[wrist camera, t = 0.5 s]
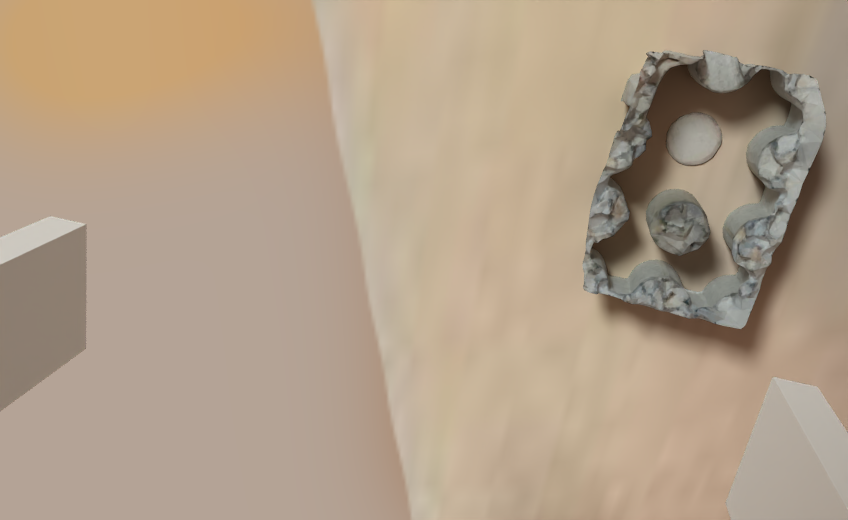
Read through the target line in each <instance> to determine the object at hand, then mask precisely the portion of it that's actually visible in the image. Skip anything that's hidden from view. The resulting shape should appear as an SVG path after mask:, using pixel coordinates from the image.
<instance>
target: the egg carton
mask: <svg viewBox="0 0 848 520" xmlns="http://www.w3.org/2000/svg"><path fill="white" fill-rule="evenodd" d="M646 54H647V56H648V58H647V59H646V61H645V64H644V66H643V68H642V69H641V72H640V73H639V74H633V75H631V77H630V78H629V79H628V81H627V83H626V87H625V90H624V92H623V95H622V99H621V101H624V102H625V104H626V105H628V106H630V108H629V110H628V112H627V115H626V117H625V120H624V122H623V125H622V128H621V130H620V131H617V133H616V135H615V137H614V141H613V145H612V148H611V150H610V153H609V158H608V161H607V164H606V167H605V168H604V170H603V173H602V175H601V178H600V180H599V183H598V185H597V188H596V190H595V193H594V197H593V201H592V205H591V209H590V217H589V224H588V231H587V239H586V252H585V257H584V261H583V270H584V286H583V288H584V290H585V291H587V292H589V293H594V294H598V293H602V294H606V295H610V296H614V297H616V298H619V299H621V300H623V301H625V302H627V303H630V304H640V305H644V306H648V307H651V308H654V309H657V310H659V311H664V312H670V313H673V314H676V315H679V316H683V317H686V318H688V319H690V318H699V319H703V320H706V321H709V322H712V323H715V324H718V325H722V326H727V327H732V328H738V329H742V328H743V327H744V326H745V325H746V323H747V320H748V318H749V315H750V313H751V310H752V308H753V305H754V303H755V300H756V298H757V295H758V293H759V290H760V286H761V281H762V278H763V276H764V273H765V271H766V269H767V267H768V266H769V265H770V264H771V259H772V254H773V252H774V251H775V249H776V248H777V247H778V246H779V245H780V243H781V242H782V239H783V236H784V234H785V230H786V227H787V224H788V221H789V218H790V215H791V213H792V211H793V208H794V206H795V204H796V202H797V200H798V197H799V194H800V191H801V187H802V184H803V182H804V180H805V178H806V176H807V174H808V172H809V170H810V167H811V165H812V163H813V161H814V158H815V156H816V154H817V152H818V150H819V147H820V145H821V143H822V140H823V136H824V132H825V128H826V115H825V109H824V106H823V102H822V98H821V94H820V90H819V86H818V81H817V79H815V78H813V77H811V76H809V75H804V74H787V73H785V72H784V71H782V70H779V69H775V68H771V67H766V66H758V65H753V64H747V65H744V64H742V63H740V62H739V61H738V59H737V57H732V56H729V55H724V54H720V53H716V52H712V51H707V50H703V54H704V55H703V56H701V57H697V56H689V55H685V54H682V53H677V52H672V51H663V52H662V53H658V52H648V53H646ZM678 65H688V70H689V73H690V75H691V76H692V77H693V79H694V80H695V81H696V82H697V83H699V84H700V85H701V86H703V87H705V88H706V89H708V90H710V91H712V92H716V93H728V92H732V91H736V90H738V89H740V88H741V87H743V86H744V85H745V84H747V83H748V82H749V81H750V80H751V78H752V77H753V75H755V74H756V73H757V72H758V71H760V70H761V69H767V70H769V71H770V80H771V84H772V87H773V89H774V91H775V92H776V93H777V94H778V95H779V96H781V97H782V98H784V99H786V100H787V101H789V102H791V108H790V112H789V115H788V118H787V120H786V122H785V124H784V126H771V127H768V128H766V129H764V130H762V131H760V132H759V133H758V134H756V135H755V137H754V138H753V139H752V140H751V142H750V143H749V145H748V147H747V152H746V158H747V164H748V166H749V168H750V170H751V171H752V172H753V173H754V174H755V175H756V176H757V177H758V178H759V179H760V180H761V181H762V182H763V184H764V185H765V189H764V192H763V195H762V198H761V200H760V202H759V203H757V204H747V205H743V206H741V207H738V208H737V209H735V210H734V211H732V212H731V213H730V214H729V215H728V217H727V219H726V221H725V223H724V226H723V238H724V240H725V242H726V244H727V245H728V247H729V248H730V250H731V251H732V255H733V258H734V261H735V262H736V263H737V264H738V265H740V266H739V269H738V272H737V274H736V275H724V276H720V277H717V278H715V279H714V280H712V281H711V282H710V283H708V285H707V286H706V287H705V288H704V289H703V291H702V292H695V291H691V290H687V289H684V288H683V285H682V282H681V280H680V278H679V276H678V274H677V272H676V271H675V270H674V268H673V267H672V266H671V265H670V264H668V263H666V262H664V261H661V260H648V261H645V262H643V263H640V264H639V265H638V266H636V267H635V268H634V269H633V270H632V272H631V274H630V275H629V277H628V278H620V277H614V276H610V275H607V269H606V264H605V261H604V259H603V257H602V255H601V254H600V253H599V252H598V251H597V250H595V249H593V248H592V245H593V243H594V242H596V243H598V242H599V241H600V240H601V239H605V238H608V237H611V236H613V235H614V234H615V233H616V232H617V231H618V230H619V229H620V228H621V227H622V226H623V225H624V223H625V222H626V221H628V220H629V213H630V211H629V210H628V207H627V203H626V200H625V197H624V194H623V192H622V189H621V187H620V186H619V185H618V184H617V183H616V182H615V181H614V180H613V179H611V178H610V176H611V175H613V174H616V173H619V172H621V171H624V170H626V169H628V168H629V167H631V166H632V162H633V160H634V159H635V158H637V157H639V156H640V155H641V154H642V153H643V152H644V151H645V150H646V140H648V139H649V138H651V137H652V131H651V127H650V123H649V121H648V119H647V118H646V115H647V113H648V110H649V108H650V105H651V103H652V100H653V98H654V95H655V93H656V90H657V87H658V85H659V83H660V81H661V80H662V78H663V76H664V75H665V74H666V73H667V71H668V70H669V69H670V68H672V67H675V66H678ZM721 141H722V134H721V129H720V127H719V126H718V124H717V123H716V121H715V120H714V119H713V118H712V117H711V116H709V115H707V114H704V113H690V114H687V115H684V116H681V117H679V118H678V119H677V120H676V121H675V122H674V123H672V125H671V127H670V129H669V131H668V132H667V140H666V142H667V144H666V147H667V149H668V152H669V153H670V155H671V156H672V158H673V159H675V160H676V161H677V162H678V163H681V164H684V165H698V164H701V163H705V162H706V161H708V160H709V159H711V158H712V157H713V156H714V154H715V153H716V151H717V150H718V148H719V147H720V145H721ZM646 221H647V224H648V227H649V230H650V234H651V236H652V238H653V240H654V241H652V242H655V243H656V244H657V245H658V246H659V247H660V248H662V249H663V250H665V251H667V252H669V253H672V254H676V255H679V256H681V255H683V254H686V253H688V252H691V251H694V250H697V249H699V248H700V247H701V246H702V245H703V244H704V243H705V242H706V241H707V239H708V238H709V235H710V228H709V224H708V220H707V216H706V214H705V212H704V211H703V209H702V207H701V206H700V204H699V203H698V201H697V200H696V199H695V198H694V197H693V195H692V194H690V193H688V192H686V191H684V190H679V189H670V190H665V191H663V192H661V193H659V194H658V195H656V196H655V197H654V198H653V199H652V201H651V202H650V203H649V205H648V208H647V211H646Z"/></svg>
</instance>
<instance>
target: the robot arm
mask: <svg viewBox="0 0 848 520" xmlns="http://www.w3.org/2000/svg"><path fill="white" fill-rule="evenodd" d="M84 349H86V224H84V223H78V222H75V221H70V220H66V219H61V218H57V217H52V216H50V217H47V218H45V219H42V220H40V221H38V222H35V223H33V224H31V225H28V226H26V227H23V228H21V229H19V230H16V231H14V232H12V233H10V234H7V235H5V236H2V237H0V411H1V410H3V409H4V408H5V407H7V406H8V405H9V404H11V403H12V402H14V401H15V400H16V399H18V398H19V397H20V396H22V395H23V394H25V393H26V392H27V391H28V390H30V389H31V388H33V387H34V386H36V385H37V384H38V383H39V382H41V381H42V380H44V379H45V378H46V377H48V376H49V375H51V374H52V373H53V372H55V371H56V370H57V369H59V368H60V367H61V366H63V365H64V364H66V363H67V362H68V361H70V360H71V359H72V358H74V357H75V356H76V355H78V354H79V353H81V352H82V351H83V350H84ZM726 506H727V509H728V512H729V515H730V518H731V520H848V432H847V431H846V429H845V428H844V426H843V425H842V423H841V422H840V420H839V419H838V417H837V416H836V414H835V413H834V411H833V410H832V408H831V407H830V405H829V404H828V402H827V401H826V399H825V398H824V396H823V394H822V393H821V391H820V390H819V388H818V387H816V386H812V385H807V384H803V383H798V382H794V381H789V380H785V379H780V378H776V377H773V378H772V380H771V383H770V386H769V388H768V391H767V394H766V396H765V399H764V402H763V404H762V407H761V410H760V412H759V415H758V418H757V420H756V423H755V426H754V428H753V431H752V434H751V436H750V439H749V442H748V444H747V447H746V450H745V452H744V455H743V458H742V460H741V463H740V466H739V468H738V471H737V474H736V476H735V479H734V482H733V484H732V487H731V490H730V492H729V495H728V498H727V500H726Z"/></svg>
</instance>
